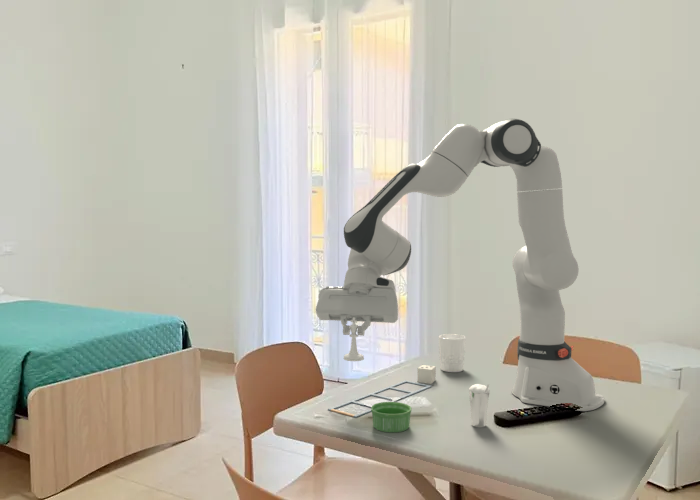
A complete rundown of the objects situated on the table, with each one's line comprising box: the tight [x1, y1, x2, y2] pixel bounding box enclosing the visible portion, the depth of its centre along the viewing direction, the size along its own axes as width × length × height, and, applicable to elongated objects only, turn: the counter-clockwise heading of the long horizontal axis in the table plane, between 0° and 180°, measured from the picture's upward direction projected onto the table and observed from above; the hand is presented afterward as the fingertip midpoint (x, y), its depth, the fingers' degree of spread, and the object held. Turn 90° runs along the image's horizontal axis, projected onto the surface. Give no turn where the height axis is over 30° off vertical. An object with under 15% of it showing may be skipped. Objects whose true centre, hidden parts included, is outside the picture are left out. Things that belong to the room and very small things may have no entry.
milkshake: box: [468, 383, 490, 428], centre depth 145 cm, size 4×5×10 cm
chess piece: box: [343, 317, 365, 362], centre depth 156 cm, size 5×5×10 cm
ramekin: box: [370, 401, 412, 433], centre depth 145 cm, size 9×9×4 cm
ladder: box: [327, 379, 433, 418], centre depth 166 cm, size 9×33×1 cm, turn 141°
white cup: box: [438, 333, 466, 373], centre depth 194 cm, size 8×8×10 cm
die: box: [416, 364, 437, 385], centre depth 182 cm, size 4×4×4 cm
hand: (353, 333), depth 155 cm, fingers closed on chess piece, 2 cm apart
